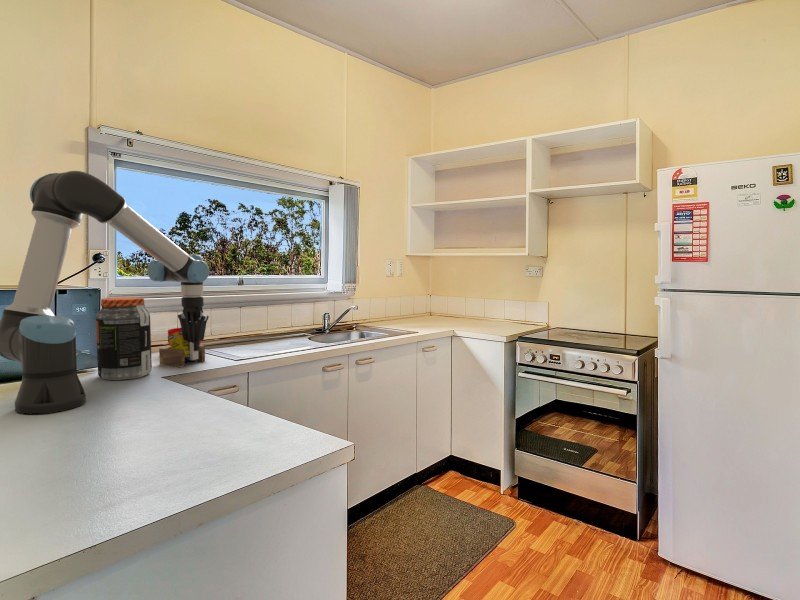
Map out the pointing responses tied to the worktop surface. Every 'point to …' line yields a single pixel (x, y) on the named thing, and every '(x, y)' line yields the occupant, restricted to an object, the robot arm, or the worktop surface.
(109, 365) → the supplement tub
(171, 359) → the brown rectangular block
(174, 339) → the supplement box
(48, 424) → the worktop surface
